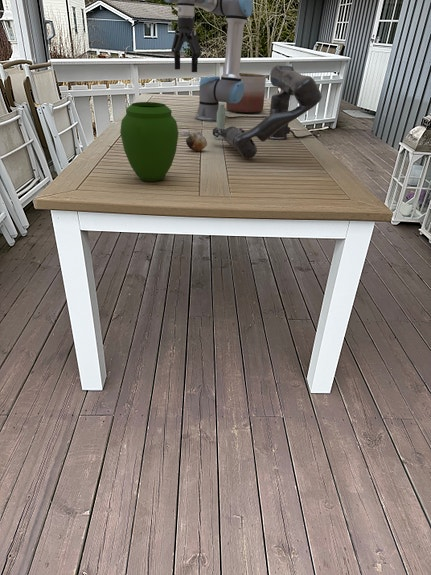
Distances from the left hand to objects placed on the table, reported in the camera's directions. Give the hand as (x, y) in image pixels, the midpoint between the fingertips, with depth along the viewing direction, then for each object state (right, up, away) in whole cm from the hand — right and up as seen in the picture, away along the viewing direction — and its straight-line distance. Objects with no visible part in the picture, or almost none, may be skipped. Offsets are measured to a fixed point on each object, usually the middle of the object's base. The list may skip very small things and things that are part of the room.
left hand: (185, 70), depth 195 cm
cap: (-1, -23, +15) cm, 28 cm away
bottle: (+16, -28, +11) cm, 35 cm away
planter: (+34, +18, +86) cm, 94 cm away
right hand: (+19, -27, +1) cm, 33 cm away
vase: (-9, -65, -49) cm, 81 cm away
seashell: (+6, -42, -12) cm, 45 cm away
